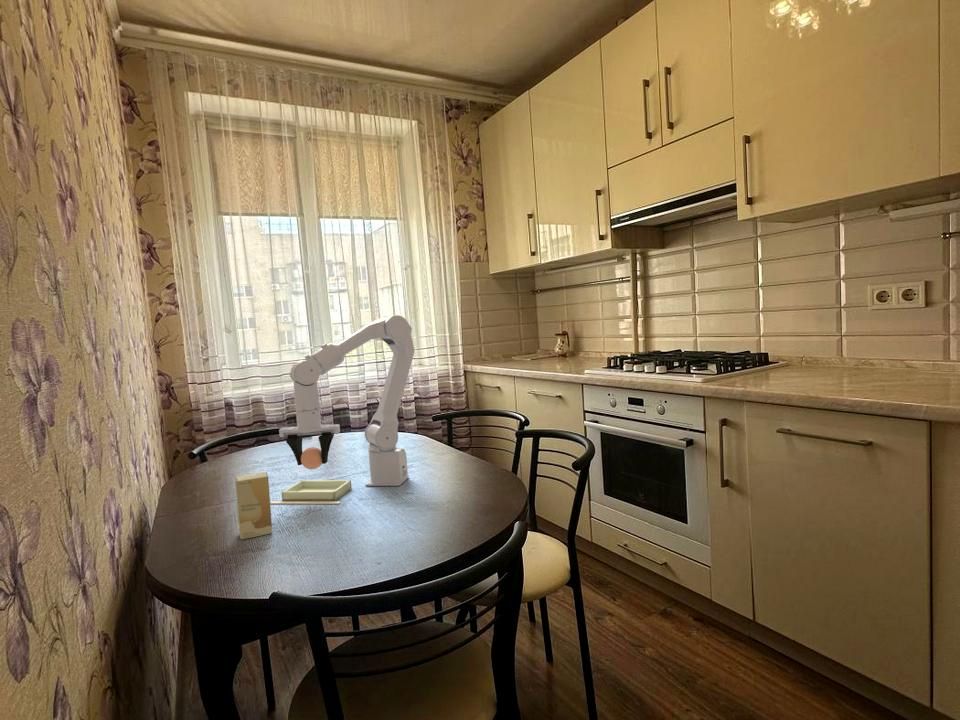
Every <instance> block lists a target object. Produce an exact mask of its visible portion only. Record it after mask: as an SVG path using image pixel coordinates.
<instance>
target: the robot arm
mask: <svg viewBox="0 0 960 720" xmlns="http://www.w3.org/2000/svg"><path fill="white" fill-rule="evenodd" d="M412 329H413V327H412V326H411V325H410V323H409V322H408V320H407V319H406V318H405V317H404V316H403V315H398V314H397V315H396V314H395V315H392V316H382V317H380V318H378V319H376V320H374V321H372V322H370V323H368V324H365V325H364V326H363V327H361V328H360V329H358V330H357V331H355V332H354V333H352V334H351V335H350V336H348V337H346V338H345V339H344V340H342V341H340V342H339V343H337V344H336V343H333V342H330V343H328V344H327V343H323V344H321V345H320V348H319V349H318V350H316V351H315V352H313V353H311V354H310V355H309V354H307V355H305V356H304V359H305V360H299V361H297V362H295V363H294V364H292V366H291V369H290V372H289V376H290V379H291V381H293V390H294V391H293V395H294V396H293V397H294V406H295V407H294V408H295V409H294V410H295V416H296V417H295V418H296V426H290V427H281V428H280V429H278V433H279V438H285V437H286V439H285V441H286V444H287V445H288V446H289V448H290V450H291V451H292V452H293V455H294V458H295V460H296V463H297V466H303V465H302V463H301V455H302V453H303V436H310V435H311V436H312V435H319V436H318V441H319V442H318V443H319V445H320V450H321V455H322V465H324V464H327V463H328V461H329V459H328V458H329V452H330V447H331V443H332V442H333V438H334V436H335V435H336V434H339V433H340V432H341V427H340V426H341V425H340V424H322V418H321V415H322V414H321V407H320V405H321V404H320V395H319V389H318V380H319V379H320V376H323V375H325V374H326V373H328V372H329V371H331V370H333V369H334V368H336V367H338V366H339V365H341V364H342V363H343V362H344V360H345V356H346V355H347V354H349V353H350V352H352V351H354V350H356V349H358V348H360V347H361V346H363V345H365V344H366V343H368V342H370V341H371V340H378V339H379V340H380V339H381V340H382V341H383V342H384V343H386V344H387V346H388V347H389V349H390V351H391V353H392V359H391V361H390V365H389V369H388V372H387V375H386V379H385V383H384V386H383V389H382V393H381V397H380V400H379V404H378V408H377V411H376V412H375V413H373V415H372V416H371V421H370V422H369V424H368V425H367V426H366V427H365V429H364V437H365V440H366V441H367V442H368V443H369V446H368V447H367V448H368V449H367V450H368V460H369V463H368V464H369V474H370V475H369V476H370V480H368V481H367V482H366V483H365V484H364V485H365V486H367V487H370V486H371V487H373V486H374V487H376V486H377V487H378V486H381V487H382V486H383V487H384V486H385V487H389V486H391V487H392V486H393V487H398V486H401V485H402V484H403V483H404V482H405V481H407V480H408V478H409V477H410V475H409V473H408V459H407V452H406V450H405V449H404V448H398V447H397V444H398V442H399V432H398V429H399V424H400V423H399V419H398V412H399V408H400V406H401V402H402V398H403V395H404V391H405V387H406V383H407V380H408V377H409V373H410V370H411V366H412V362H413V359H414V355H415V347H414V341H413V337H412Z"/></svg>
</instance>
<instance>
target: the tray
mask: <svg viewBox="0 0 960 720" xmlns="http://www.w3.org/2000/svg"><path fill="white" fill-rule="evenodd" d="M350 490H352V480H351V479H348V480H347V479H345V480H344V479H341V480H340V479H335V480H334V479H332V480H329V479H328V480H326V479H325V480H321V479H319V480H312V479H311V480H299V481H298V482H296V483H295V484H293V485H291V486H290V487H288V488H286V489H285V490H283V491H281V493H280V494H281V501H338V500H339V499H340V498H341V497H343V496H344V495H346V493H348V492H349V491H350Z"/></svg>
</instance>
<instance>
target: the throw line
mask: <svg viewBox="0 0 960 720" xmlns="http://www.w3.org/2000/svg"><path fill="white" fill-rule="evenodd" d="M340 504H341V501H338V500H336V501H282V500H281V501H278V500H277V501H276V500H275V501H270V505H340Z"/></svg>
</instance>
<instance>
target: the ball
mask: <svg viewBox="0 0 960 720" xmlns="http://www.w3.org/2000/svg"><path fill="white" fill-rule="evenodd" d="M302 452H303V453H302V455H301V463H302V465H301V466H303V467H304V468H305V469H307V470H316V469H318V468H319V467H321V466H322V465H323V464H322V455H321V448H318V447H315V446H310V447H307V448H306V449H304V450H302Z"/></svg>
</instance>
